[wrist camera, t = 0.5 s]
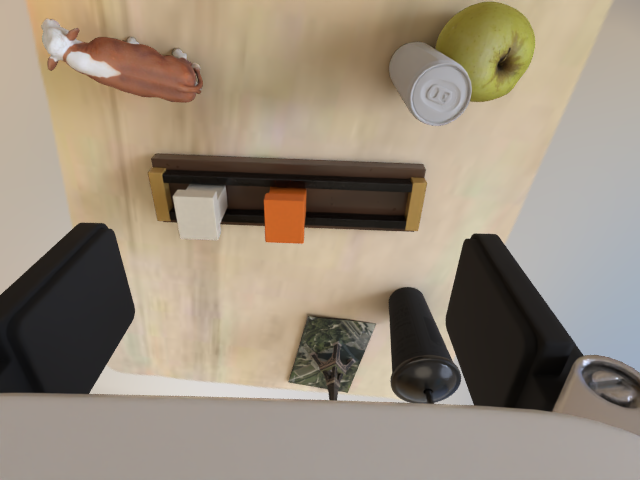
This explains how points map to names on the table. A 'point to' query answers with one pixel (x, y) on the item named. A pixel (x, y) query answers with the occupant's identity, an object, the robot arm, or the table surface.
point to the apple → (489, 47)
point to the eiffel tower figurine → (330, 353)
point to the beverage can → (430, 83)
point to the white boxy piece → (200, 211)
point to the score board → (314, 197)
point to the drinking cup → (418, 351)
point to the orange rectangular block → (285, 215)
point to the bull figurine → (124, 64)
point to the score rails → (413, 187)
